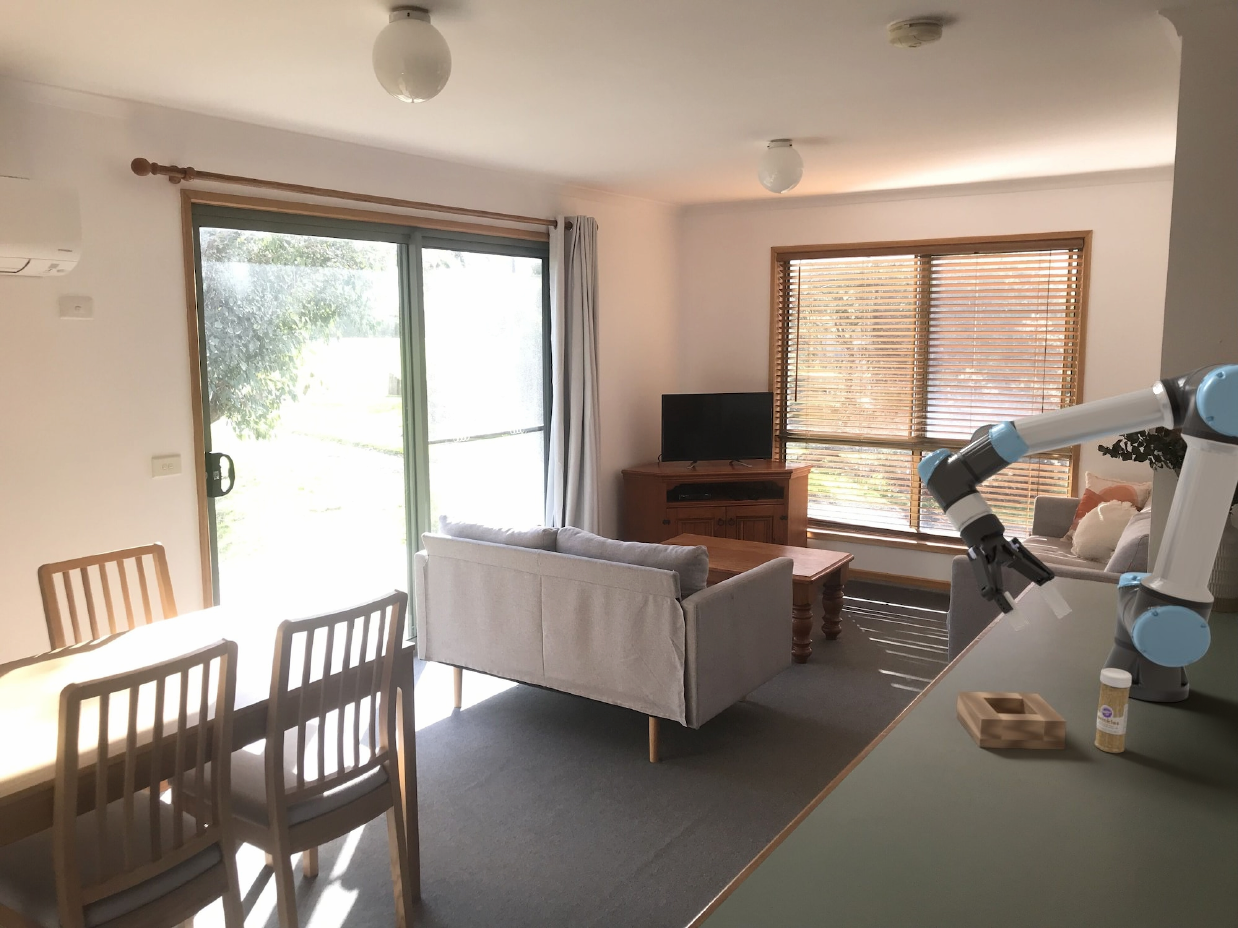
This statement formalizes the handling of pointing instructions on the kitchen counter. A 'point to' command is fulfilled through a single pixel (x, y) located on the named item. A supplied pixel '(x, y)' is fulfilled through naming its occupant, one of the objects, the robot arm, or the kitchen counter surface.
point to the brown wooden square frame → (1010, 720)
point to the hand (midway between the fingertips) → (1045, 621)
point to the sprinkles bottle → (1112, 710)
